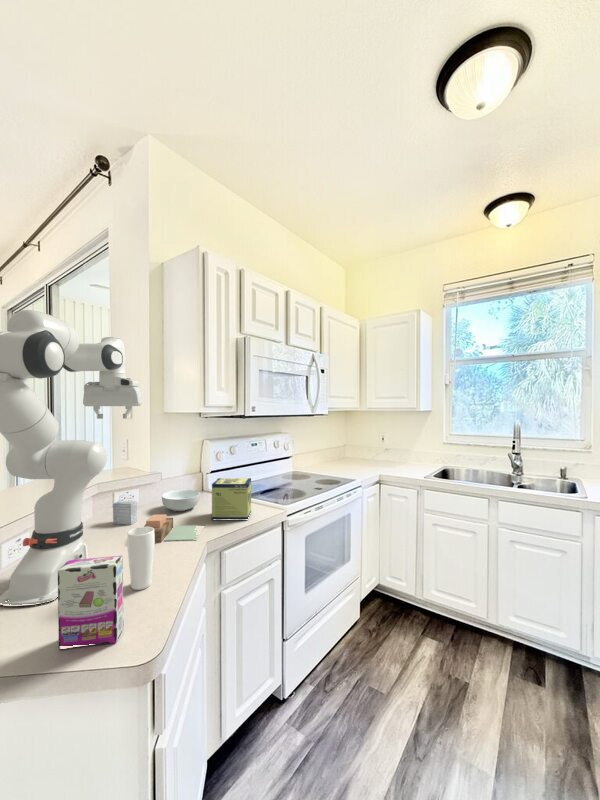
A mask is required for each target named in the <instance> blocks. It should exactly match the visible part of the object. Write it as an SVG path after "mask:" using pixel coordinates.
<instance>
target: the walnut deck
mask: <svg viewBox="0 0 600 800" xmlns="http://www.w3.org/2000/svg"><path fill="white" fill-rule="evenodd" d="M145 526H146V524H144V525H143V527H145ZM172 528H173V529H174V517H166V522H165V523H164V524H163V525H162V526H161V527H160V528H154V532H155V543H162V542H163V541H164V540H165V538H166V537H167V536H168V535H169V534H170V532H171V531H172V530H173V529H172Z"/></svg>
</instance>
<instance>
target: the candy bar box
mask: <svg viewBox="0 0 600 800" xmlns="http://www.w3.org/2000/svg"><path fill="white" fill-rule="evenodd" d="M123 562H124V561H123V555H113V556H103V557H91V558H90V557H89V558H88V559H79V560H69V561H67V562H66V563H65V564H64V565H63V566H62V567H61V568H60V569H59V570H58V598H57V605H58V606H57V611H58V613H57V615H58V618H57V619H58V624H57V625H58V647H59V646H73V645H89V644H102V645H106V644H105V643H109V644H115V643H117V642H118V640H119V638H120V636H121V634H122V633H123V630H124V579H123V578H124V577H123V576H124V574H123V573H124V571H123V569H124V567H123Z"/></svg>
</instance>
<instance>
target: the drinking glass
mask: <svg viewBox="0 0 600 800" xmlns="http://www.w3.org/2000/svg"><path fill="white" fill-rule="evenodd" d="M144 526H145V525H144ZM144 526H139V527H134V528H132V529H130V530H129V531H128V532H127V537H126V538H127V540H126V541H127V542H126V543H127V544H126V545H127V546H126V547H127V558H128V565H129V566H128V567H129V568H128V569H129V578H130V588H131V589H132V590H135V591H141V590H144V589H147V588H149V587H150V586H151V585H152V584H153V583H152V582H153V571H154V570H153V568H154V559H155V558H154V557H155V556H154V555H155V532H154V528H153V527H148V526H145V527H144Z"/></svg>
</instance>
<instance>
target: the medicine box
mask: <svg viewBox="0 0 600 800" xmlns="http://www.w3.org/2000/svg"><path fill="white" fill-rule="evenodd" d="M137 504H138V503H137V500H118V501H116V502H114V503H113V504H112V521H113V522H112V523H113V525H129V526H130V525H134V523H136V522H137V521H138V512H137V511H138V506H137Z"/></svg>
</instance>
